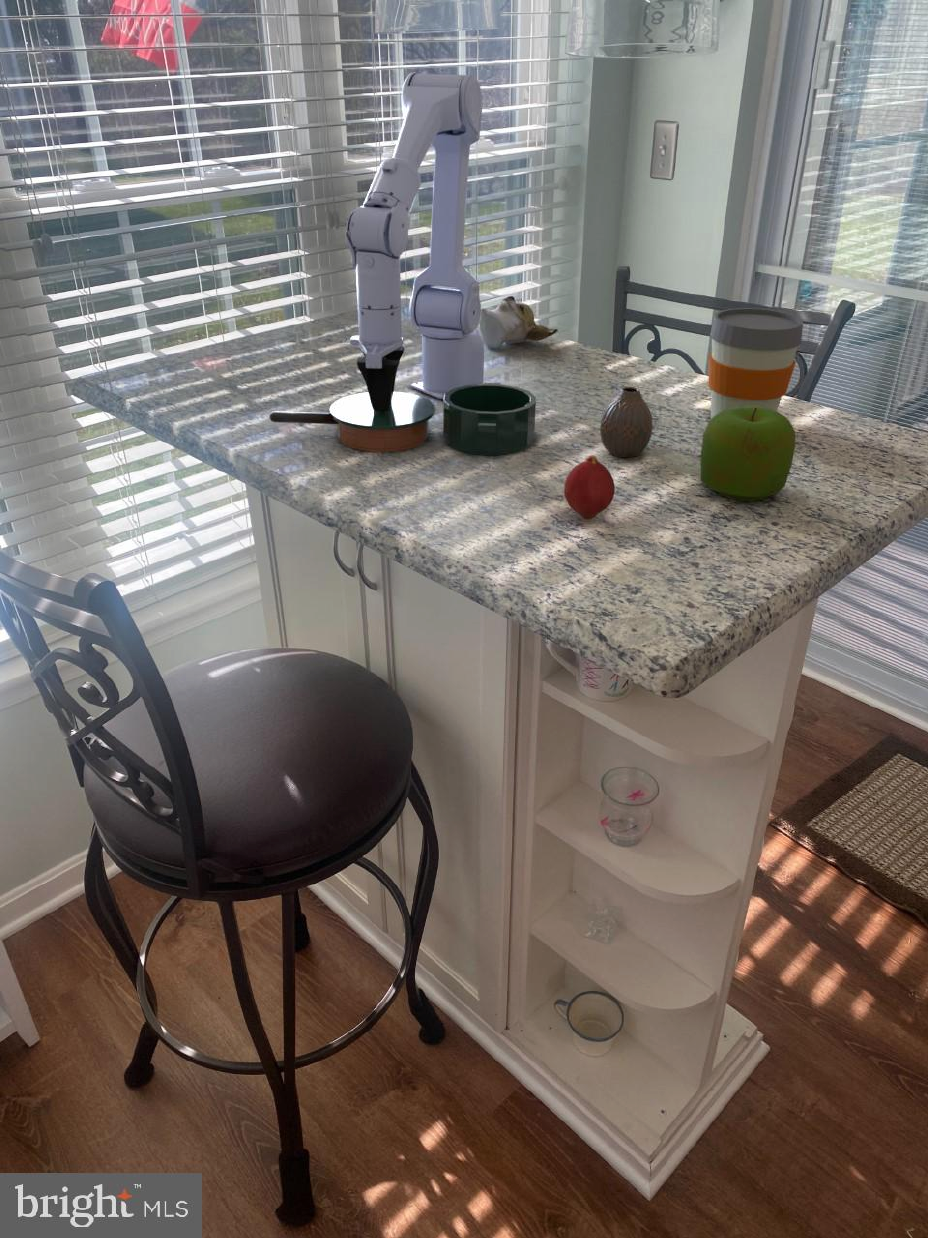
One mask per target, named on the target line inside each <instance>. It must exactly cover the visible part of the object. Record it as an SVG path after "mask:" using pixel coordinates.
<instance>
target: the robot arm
mask: <svg viewBox="0 0 928 1238" xmlns="http://www.w3.org/2000/svg"><path fill="white" fill-rule="evenodd" d="M401 89H402V90H401V108H402V115H403V122H402V126H401V128H400V131H399V135H398V138H397V142H396V145H395V147H394V151H393V153H392V157H389V158H386V159H384V160H383V161H382V162H381V163H380V165H379V167H378V169H377V171H376V173H375V176H374V179H373V181H372V183H371V184H370V188H369V190H368V192H367V195H366V197H365V200H364V202H363V204H362V205H360V206H358V207H356V209H353V210H352V211H351V212H350V214H349V215H348V218H347V221H346V231H345V234H344V235H345V242H346V245H347V248H348V250H349V252H350V263H351V265H352V268H354V269H355V274H356V275H355V279H356V300H357V301H356V303H357V320H358V321H357V322H358V323H357V324H358V325H357V326H358V335H352V336H351V337H350V339H349V343H350V345H353V346H354V345H356V346H358V347H359V348H360V350H361V351H362V355H363V356H358V357H357V359H356V366H357V369H358V371H359V372H360V374H361V376H362V378H363V380H364V383H365V385H366V388H367V392H368V393H369V397H370V401H371V405H372V408H373V410H388V408H389V405H390V399H391V391H392V397H393V393H394V392H395V385H396V380H397V379H396V377H397V372H398V368H399V365H400V362H401V359H402V357H403V354H404V352H405V346H403V345H404V337H403V336H402V334H403V333H402V285H401V284H402V282H401V256H402V255H403V254H404V252H405V250H406V248H407V244H408V239H409V229H410V228H409V227H410V225H411V218H410V212H411V210H412V207H413V206H414V203H415V200H416V197H417V195H418V193H419V191H420V188H421V185H422V179H421V175H420V173H419V171H418V170H419V169H420V167H421V165H422V163H423V161H424V159H425V157H426V155H427V154H428V152H429V150H430V148H431V146H432V148H433V150H434V168H433V185H432V186H433V189H432V207H431V208H432V209H431V229H430V230H431V231H430V248H429V249H430V251H429V266H428V267H427V268H425V269H424V270H423V271H421V272H420V273H419V274H417V275H416V276H415V278H414V280H413V286H412V287H413V288H412V293H411V296H410V300H409V308H408V309H409V310H408V311H409V317H410V321H411V322H412V324H413V326H414V327H415V328H417V334H420V335H421V357H422V358H421V367H422V368H421V369H422V370H421V371H422V381H419V382H414V383H411V384H410V387H411V388H412V389H415V390H417V391H419V392H422V393H424V394H425V395H429V396H431V397H433V398H436V399H438V400H444V396H445V394H446V393H447V392H449V391H450V390H452V389H454V388H458V387H462V386H466V385H475V384H484V375H485V374H484V373H485V372H484V371H485V344H484V343H483V341H482V338H481V336H480V335H479V333H478V330H476V329H478V323H479V320H480V314H481V309H482V304H481V299H480V282H479V281H478V280H477V278H475V276H473V275H472V274H471V273H470V272H469V271H468V270H467V269H466V268H465V267H464V266H463V263H464V249H465V248H464V245H465V229H466V212H467V210H466V209H467V197H468V196H467V195H468V194H467V193H468V180H469V165H470V164H469V163H470V162H469V161H470V153H471V152H470V150H471V145H473V144H475V143H477V142H479V141H480V135H481V130H482V119H483V118H482V117H483V101H484V99H483V98H484V97H483V92H482V88H481V85H480V82H479V80H478V79H477V77H476V76H475V74H473V73H468V74H443V73H441V74H440V73H439V74H438V73H418V72H414V71H411V72H410V73H409V74H408V75H407V76H406V78H405V80H404V82H403V84H402V88H401ZM432 286H433V287H432ZM434 286H437V287H434ZM442 287H447V288H442ZM451 288H455V289H451Z"/></svg>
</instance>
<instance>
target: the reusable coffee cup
mask: <svg viewBox="0 0 928 1238" xmlns="http://www.w3.org/2000/svg"><path fill="white" fill-rule="evenodd" d="M803 327H804V321H803V319H802V318H800V316H797V315H796V314H792V313H788V312H785V311H780V310H775V309H768V308H767V309H766V308H755V307H738V308H736V307H735V308H728V309H723V310H719V311H717V312H716V313H715V314H714V316H713V322H712V325H711V330H710V333H709V336H710V338H711V352H710V353H709V355H708V388H709V389H710V390H711V391H710V420H711V419H712V418H713V417H714V416H715V415H717V414H718V413H720V412H721V411H724V410H727V409H730V408H735V407H741V406H759V407H764V408H769V409H772V410H774V411H776V412H778V410H779V407H780V403H781V400H782V398H783V397H784V396H785V395H786V394H787V392H788V389H789V385H790V382H791V378H792V377H793V372H794V369H795V367H796V363H797V362H796V360H795V357H796V354H797V351H798V347H800V345H802V340H803V330H804V329H803Z"/></svg>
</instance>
